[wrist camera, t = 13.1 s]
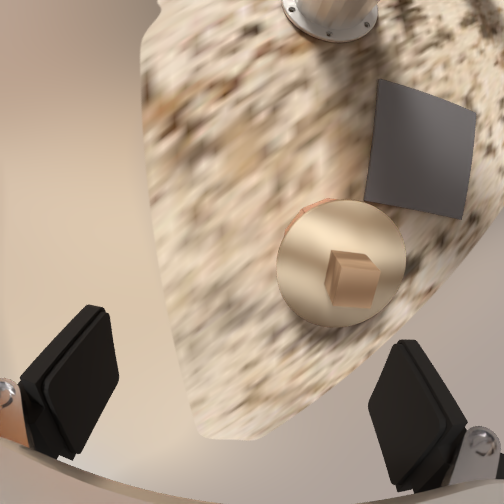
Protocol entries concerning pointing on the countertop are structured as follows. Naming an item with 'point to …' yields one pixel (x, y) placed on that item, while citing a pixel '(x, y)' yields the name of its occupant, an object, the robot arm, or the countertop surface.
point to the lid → (340, 263)
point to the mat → (420, 151)
